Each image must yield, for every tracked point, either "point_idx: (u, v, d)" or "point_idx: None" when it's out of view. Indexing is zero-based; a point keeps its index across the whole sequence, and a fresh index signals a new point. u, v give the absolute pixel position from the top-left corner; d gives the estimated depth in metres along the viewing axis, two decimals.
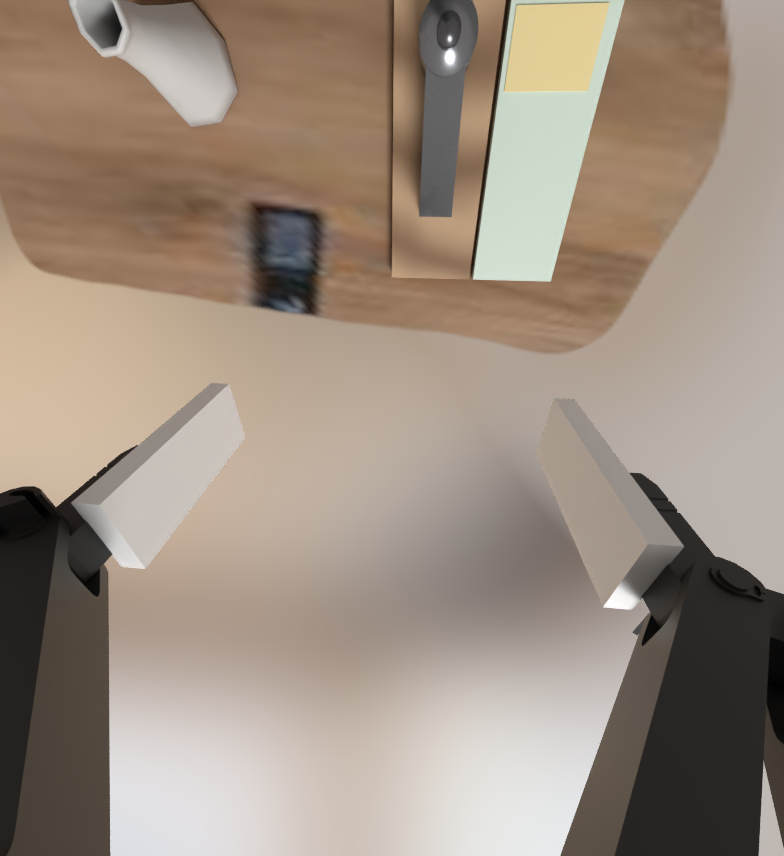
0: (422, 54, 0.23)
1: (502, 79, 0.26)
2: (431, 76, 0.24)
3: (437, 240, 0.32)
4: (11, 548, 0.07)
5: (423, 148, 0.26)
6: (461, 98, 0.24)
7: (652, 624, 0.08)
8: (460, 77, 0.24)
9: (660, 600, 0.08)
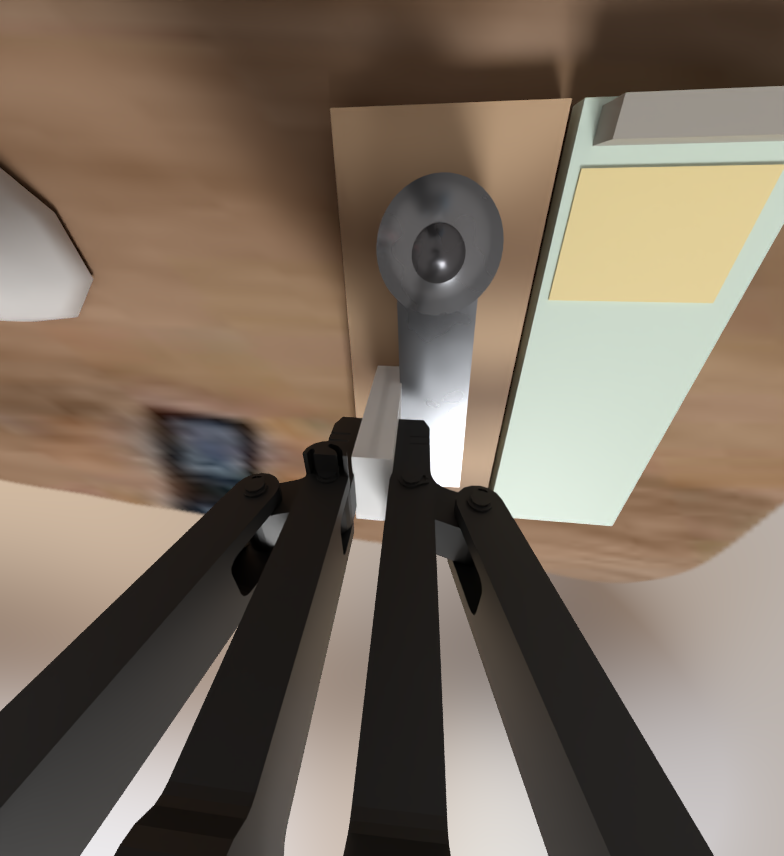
0: (387, 284, 0.11)
1: (546, 281, 0.14)
2: (408, 313, 0.12)
3: None
4: (315, 489, 0.09)
5: (402, 407, 0.14)
6: (470, 344, 0.12)
7: None
8: (467, 314, 0.12)
9: None
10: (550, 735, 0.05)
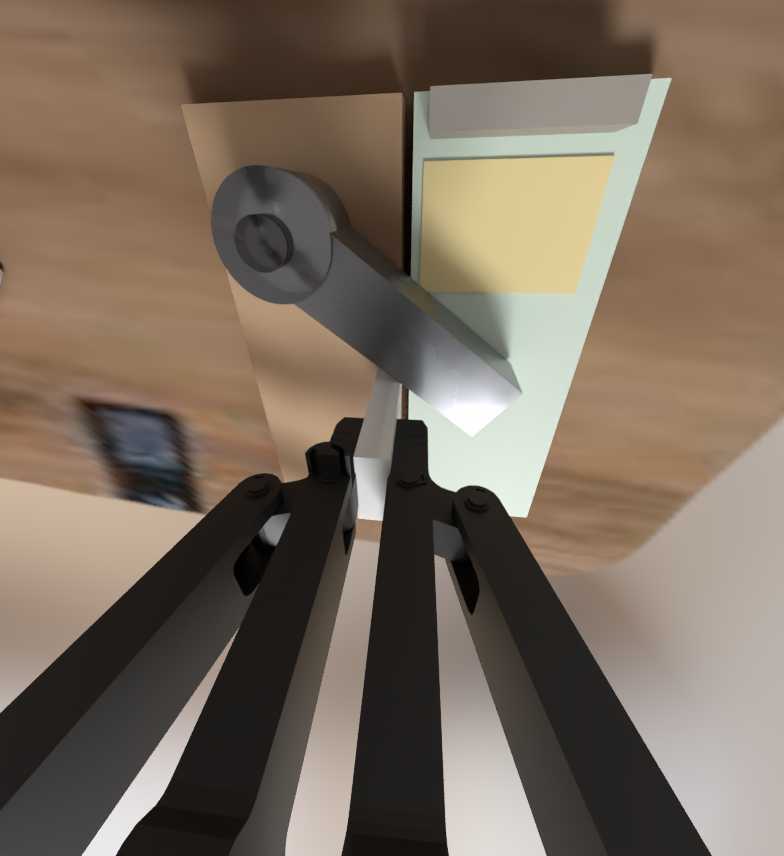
0: (275, 301, 0.12)
1: (414, 272, 0.14)
2: (309, 303, 0.12)
3: None
4: (317, 489, 0.09)
5: (391, 373, 0.13)
6: (370, 270, 0.11)
7: None
8: (340, 254, 0.11)
9: None
10: (547, 735, 0.05)
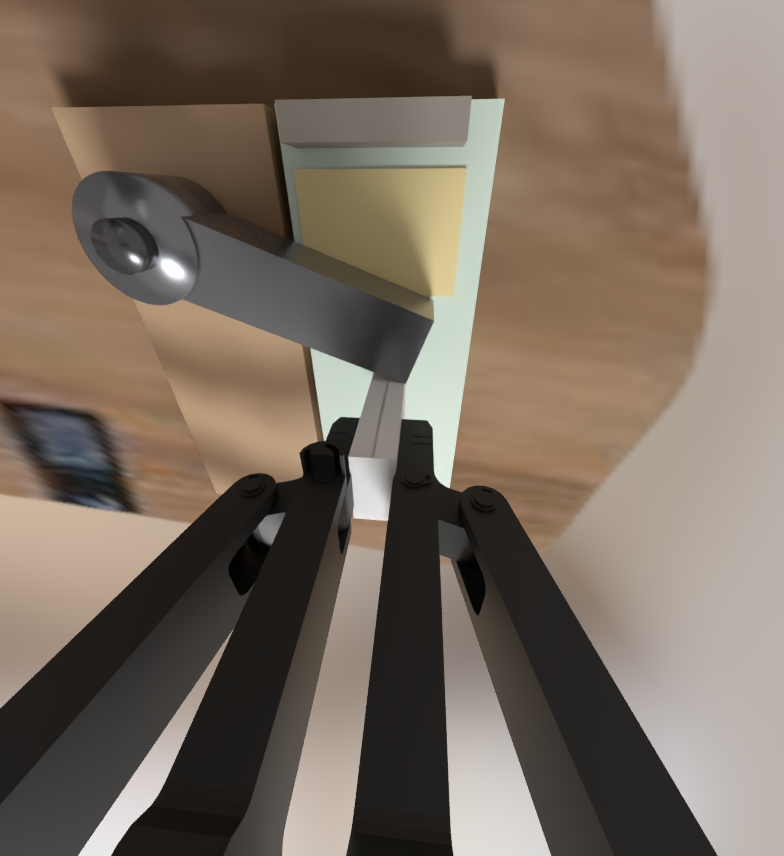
0: (165, 303, 0.12)
1: None
2: (196, 294, 0.12)
3: (267, 460, 0.21)
4: (312, 488, 0.09)
5: (299, 341, 0.13)
6: (232, 240, 0.11)
7: None
8: (199, 234, 0.11)
9: None
10: (554, 736, 0.05)
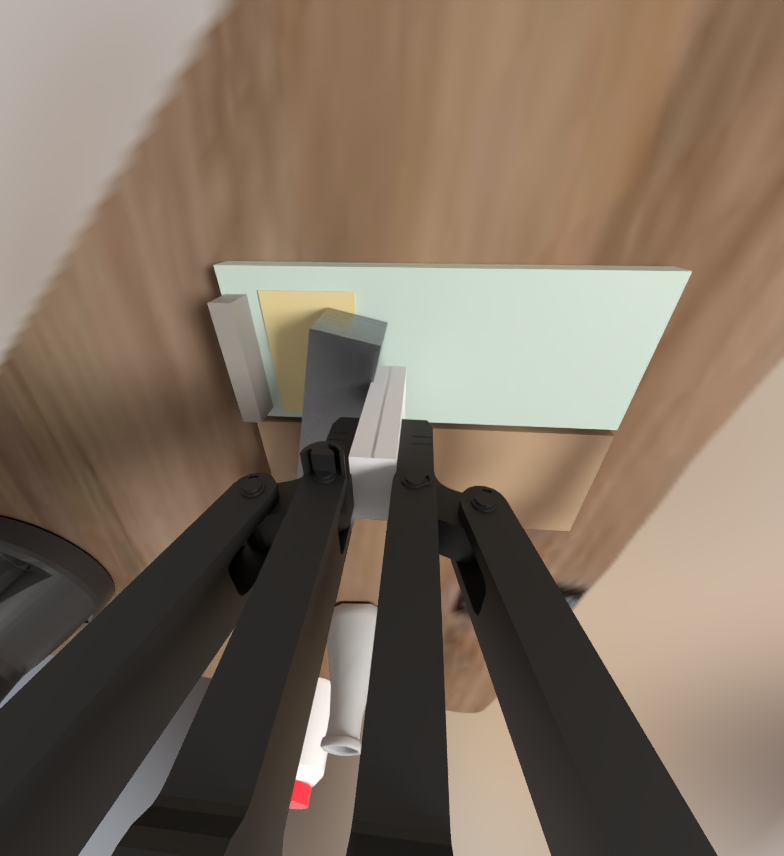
0: None
1: None
2: None
3: (533, 480, 0.20)
4: (312, 489, 0.09)
5: None
6: (299, 469, 0.17)
7: None
8: None
9: None
10: (554, 736, 0.05)
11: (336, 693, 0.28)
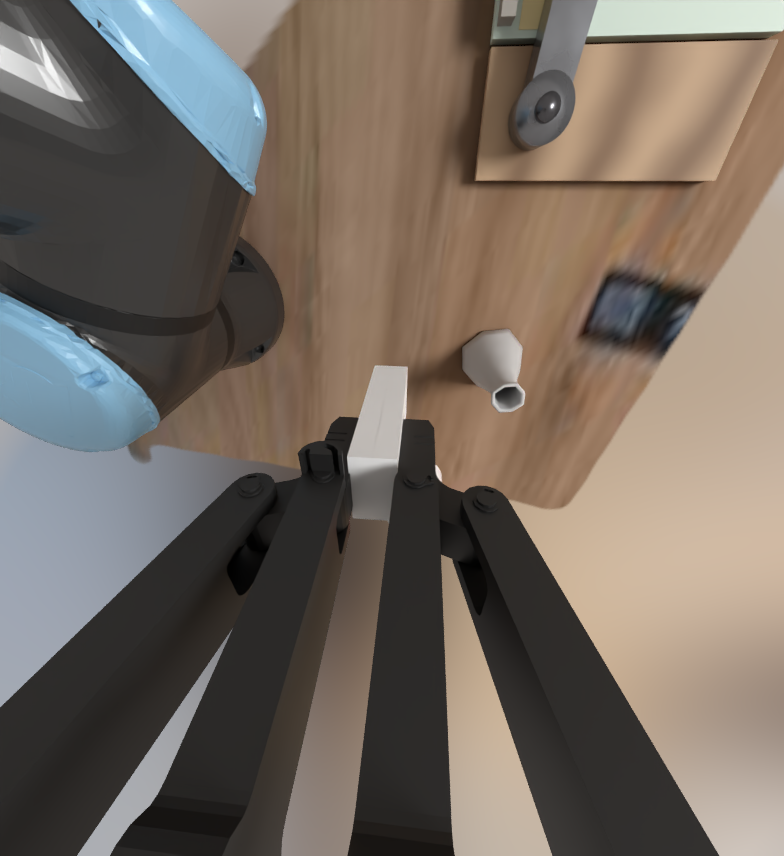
0: (574, 94, 0.23)
1: None
2: (569, 72, 0.23)
3: (700, 108, 0.26)
4: (311, 488, 0.09)
5: None
6: (543, 43, 0.22)
7: None
8: (540, 67, 0.23)
9: None
10: (556, 736, 0.05)
11: (494, 373, 0.34)
